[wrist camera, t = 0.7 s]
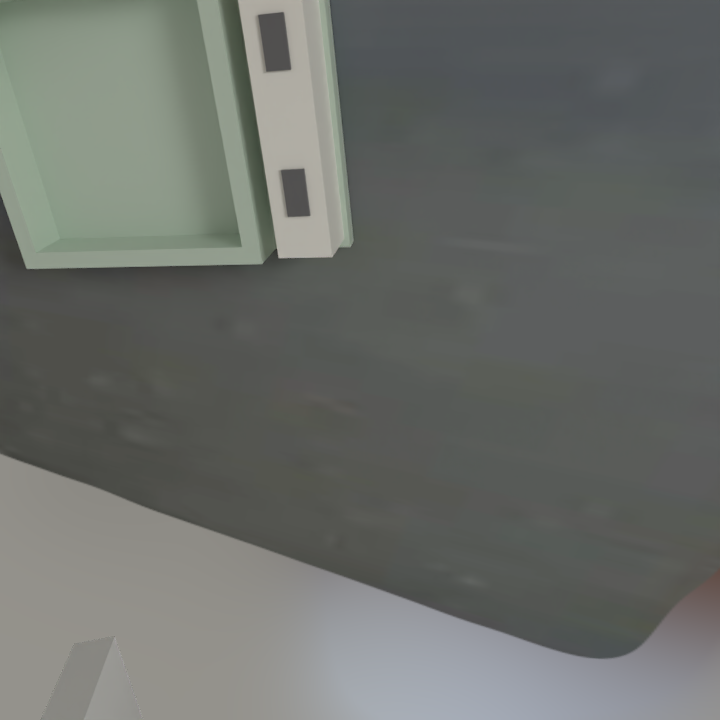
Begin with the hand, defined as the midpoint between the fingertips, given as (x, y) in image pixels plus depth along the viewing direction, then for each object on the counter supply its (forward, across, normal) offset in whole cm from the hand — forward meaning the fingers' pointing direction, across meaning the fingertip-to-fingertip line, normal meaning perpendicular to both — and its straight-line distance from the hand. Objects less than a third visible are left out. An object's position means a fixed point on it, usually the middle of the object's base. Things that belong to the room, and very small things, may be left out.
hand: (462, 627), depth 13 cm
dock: (+30, -8, +11) cm, 34 cm away
